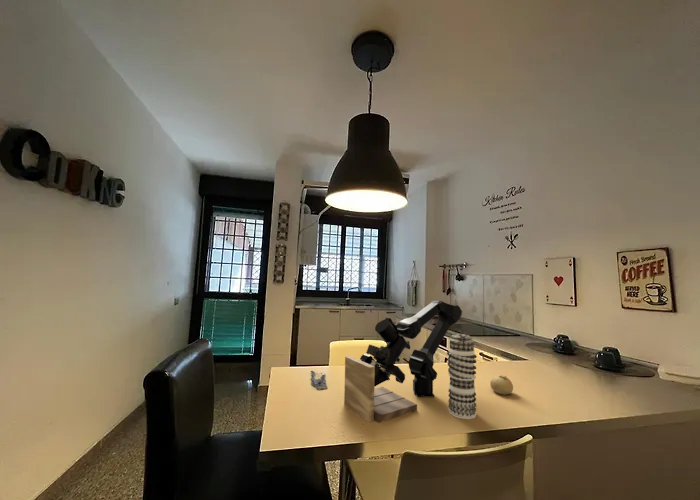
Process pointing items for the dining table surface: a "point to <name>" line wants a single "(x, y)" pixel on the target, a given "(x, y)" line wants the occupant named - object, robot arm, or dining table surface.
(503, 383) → the onion
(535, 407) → the dining table surface
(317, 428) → the dining table surface
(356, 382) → the plank
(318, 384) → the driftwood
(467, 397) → the white patterned tower
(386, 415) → the wooden panel
